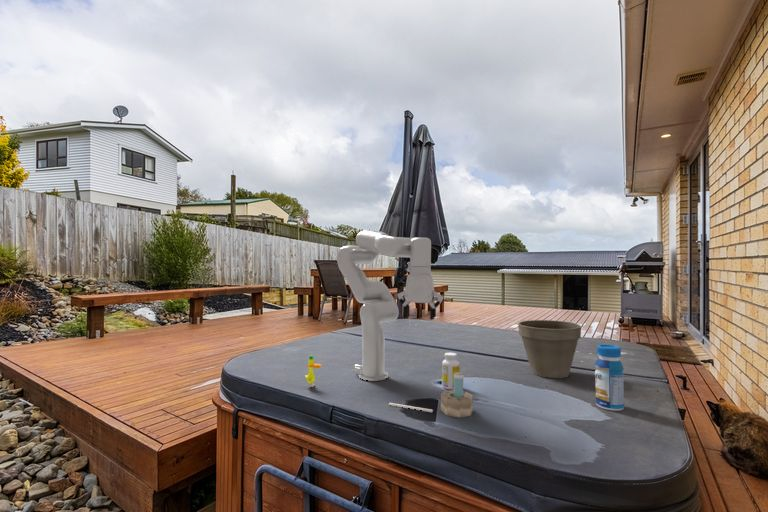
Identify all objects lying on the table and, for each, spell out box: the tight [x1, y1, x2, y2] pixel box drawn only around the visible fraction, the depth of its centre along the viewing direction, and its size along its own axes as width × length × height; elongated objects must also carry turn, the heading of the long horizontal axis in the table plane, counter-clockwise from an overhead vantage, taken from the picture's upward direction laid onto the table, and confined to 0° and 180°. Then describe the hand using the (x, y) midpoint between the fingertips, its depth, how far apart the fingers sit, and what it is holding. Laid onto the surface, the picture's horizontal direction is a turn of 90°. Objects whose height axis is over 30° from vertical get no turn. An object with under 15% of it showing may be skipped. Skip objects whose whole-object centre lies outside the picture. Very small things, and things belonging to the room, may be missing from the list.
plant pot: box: [517, 319, 582, 379], centre depth 161 cm, size 25×25×22 cm
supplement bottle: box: [441, 352, 461, 391], centre depth 142 cm, size 7×7×13 cm
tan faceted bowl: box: [440, 390, 474, 418], centre depth 119 cm, size 10×10×5 cm
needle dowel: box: [454, 372, 464, 398], centre depth 119 cm, size 3×3×12 cm
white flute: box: [388, 402, 434, 413], centre depth 121 cm, size 15×1×1 cm, turn 67°
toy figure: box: [304, 354, 323, 386], centre depth 142 cm, size 7×4×12 cm, turn 81°
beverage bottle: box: [594, 344, 625, 412], centre depth 123 cm, size 8×8×20 cm
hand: (419, 318), depth 135 cm, fingers open, 9 cm apart
